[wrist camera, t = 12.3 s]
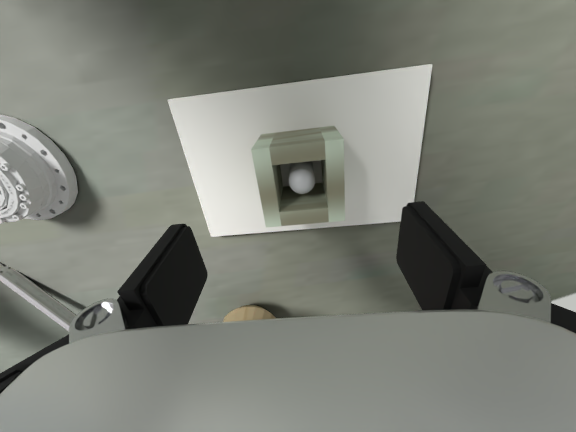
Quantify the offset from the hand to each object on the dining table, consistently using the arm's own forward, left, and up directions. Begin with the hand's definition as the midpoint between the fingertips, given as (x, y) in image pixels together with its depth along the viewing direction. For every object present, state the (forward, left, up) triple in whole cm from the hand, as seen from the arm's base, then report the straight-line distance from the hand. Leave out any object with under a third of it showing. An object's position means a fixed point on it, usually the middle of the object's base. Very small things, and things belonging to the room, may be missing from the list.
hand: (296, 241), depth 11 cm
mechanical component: (-2, -26, -14) cm, 30 cm away
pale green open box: (0, 0, -12) cm, 12 cm away
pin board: (0, 0, -13) cm, 13 cm away
